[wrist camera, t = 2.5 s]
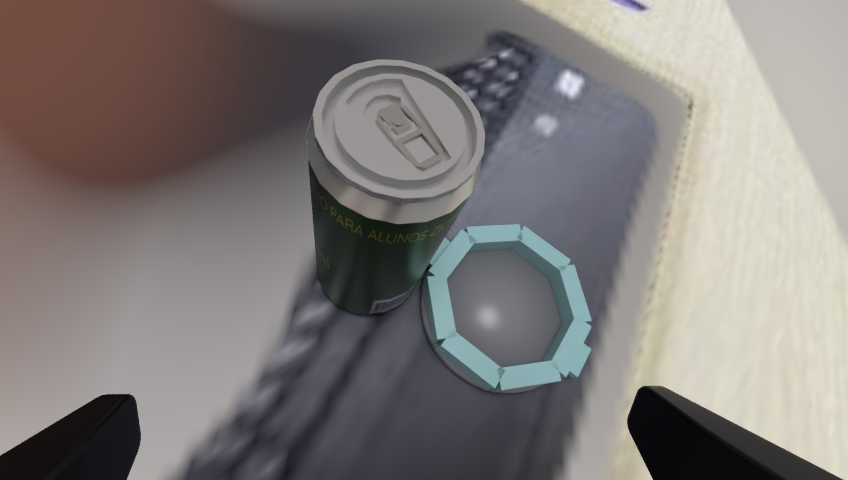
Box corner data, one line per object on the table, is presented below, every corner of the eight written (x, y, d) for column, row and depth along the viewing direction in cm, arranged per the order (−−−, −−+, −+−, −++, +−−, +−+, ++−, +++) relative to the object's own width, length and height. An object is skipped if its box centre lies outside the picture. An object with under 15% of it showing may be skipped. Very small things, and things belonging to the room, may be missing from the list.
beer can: (435, 283, 23) (528, 154, 12) (353, 339, 20) (379, 243, 10) (379, 210, 24) (419, 33, 13) (297, 256, 22) (264, 89, 11)
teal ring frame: (536, 439, 20) (554, 440, 19) (377, 312, 21) (381, 303, 20) (604, 304, 24) (623, 295, 23) (468, 202, 25) (477, 187, 24)
